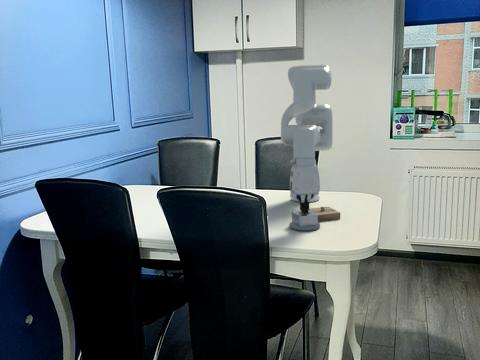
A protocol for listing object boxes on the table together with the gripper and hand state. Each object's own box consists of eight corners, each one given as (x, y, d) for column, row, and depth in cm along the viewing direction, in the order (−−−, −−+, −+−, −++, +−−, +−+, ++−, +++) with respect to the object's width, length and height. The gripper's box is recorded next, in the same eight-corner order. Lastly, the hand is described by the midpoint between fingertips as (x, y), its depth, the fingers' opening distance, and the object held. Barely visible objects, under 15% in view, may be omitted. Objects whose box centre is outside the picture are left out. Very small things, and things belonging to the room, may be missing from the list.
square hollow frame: (299, 227, 171) (299, 216, 170) (292, 222, 177) (291, 211, 177) (317, 225, 173) (317, 214, 172) (309, 220, 179) (309, 209, 178)
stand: (305, 215, 191) (305, 205, 190) (328, 212, 194) (328, 203, 193) (316, 221, 182) (316, 211, 181) (340, 218, 184) (340, 208, 184)
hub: (285, 224, 179) (284, 214, 178) (312, 221, 182) (312, 211, 181) (296, 233, 168) (296, 221, 168) (325, 229, 171) (325, 218, 171)
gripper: (288, 165, 165) (289, 216, 168) (328, 161, 169) (328, 212, 172) (280, 162, 172) (281, 211, 175) (318, 159, 176) (319, 207, 179)
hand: (304, 212), depth 174 cm, fingers closed
